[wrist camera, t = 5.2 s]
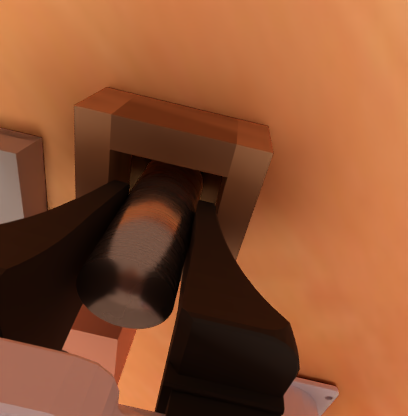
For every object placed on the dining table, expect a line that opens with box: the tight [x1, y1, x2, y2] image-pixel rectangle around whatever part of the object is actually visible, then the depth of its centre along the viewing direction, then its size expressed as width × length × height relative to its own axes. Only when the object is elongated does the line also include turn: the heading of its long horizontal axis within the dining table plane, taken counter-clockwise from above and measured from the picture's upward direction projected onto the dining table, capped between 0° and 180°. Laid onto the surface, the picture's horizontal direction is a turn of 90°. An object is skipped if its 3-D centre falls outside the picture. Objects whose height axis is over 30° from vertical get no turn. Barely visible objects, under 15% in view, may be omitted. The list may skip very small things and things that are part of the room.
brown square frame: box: [74, 87, 273, 281], centre depth 14 cm, size 7×7×3 cm
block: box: [62, 304, 137, 385], centre depth 16 cm, size 5×5×6 cm
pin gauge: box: [76, 160, 203, 329], centre depth 12 cm, size 3×3×7 cm
